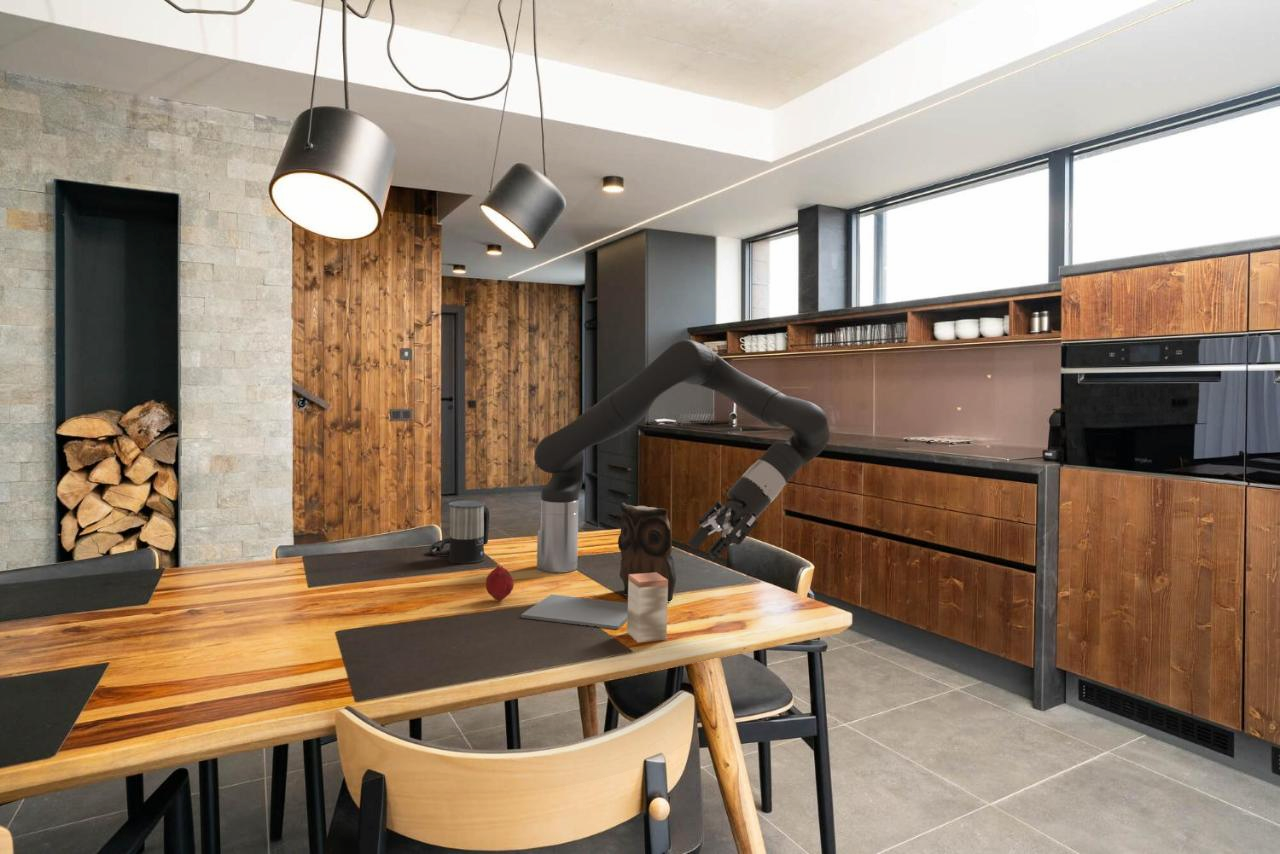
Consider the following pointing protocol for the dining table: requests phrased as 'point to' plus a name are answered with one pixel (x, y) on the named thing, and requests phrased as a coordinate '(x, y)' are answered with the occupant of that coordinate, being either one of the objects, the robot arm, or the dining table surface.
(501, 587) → the onion
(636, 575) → the block
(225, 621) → the dining table surface
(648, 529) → the owl
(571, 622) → the mat
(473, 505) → the milk frother
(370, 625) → the dining table surface
